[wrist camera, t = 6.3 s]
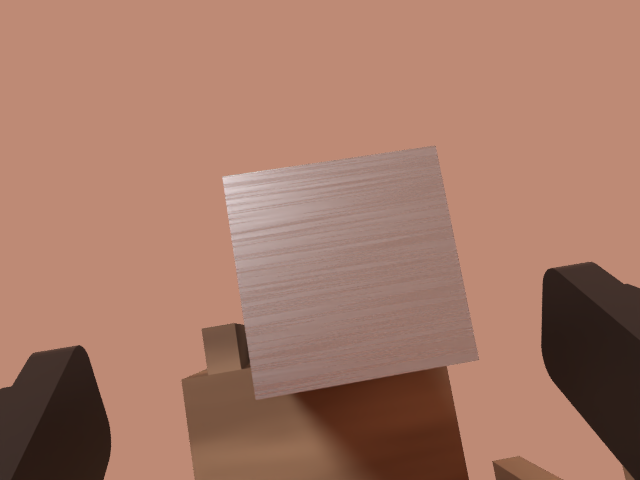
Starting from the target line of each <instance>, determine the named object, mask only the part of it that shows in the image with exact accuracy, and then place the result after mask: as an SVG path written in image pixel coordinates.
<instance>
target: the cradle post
mask: <svg viewBox="0 0 640 480" xmlns="http://www.w3.org/2000/svg"><path fill="white" fill-rule="evenodd" d="M492 462H493V466H494V471H495V476H496V480H563V479H561V478H559V477H557V476H555V475H553V474H551V473H550V472H548V471H546V470H544V469H542V468H540V467H538V466H537V465H535V464H533V463H531V462H529V461H527V460H525V459H524V458H522V457H520V456H517V457H512V458H507V459H502V460H496V461H492ZM623 470H624V474H625V478H626V480H634V478H633V477H632V476H631V475H630V474H629V472H628V471H627V470H626V469H625V467H624V466H623Z"/></svg>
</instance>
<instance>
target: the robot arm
mask: <svg viewBox="0 0 640 480" xmlns="http://www.w3.org/2000/svg"><path fill="white" fill-rule="evenodd" d="M542 295H543V296H542V341H541V343H542V344H541V348H542V356H543V360H544V364H545V366H546V369H547V371H548V374H549V376H550V377H551V379H552V381H553V382H554V383H555V384H556V386H557V387H558V388H559V389H560V390H561V392H562V393H563V394H564V395H565V396H566V398H567V399H568V400H569V401H570V402H571V404H572V405H573V406H574V407H575V408H576V410H577V411H578V412H579V413H580V414H581V415H582V417H583V418H584V419H585V420H586V422H587V423H588V424H589V425H590V426H591V428H592V429H593V430H594V431H595V432H596V434H597V435H598V436H599V437H600V439H601V440H602V441H603V442H604V443H605V445H606V446H607V447H608V448H609V449H610V451H611V452H612V453H613V454H614V455H615V457H616V458H617V459H618V460H619V461H620V463H621V464H622V465H623V466H624V467H625V469H626V470H627V471H628V472H629V474H630V475H631V476H632V477H633V478H634V480H640V288H637V287H635V286H632V285H629V284H623V283H621V282H620V281H619V280H617V279H616V278H615V277H613V276H612V275H611V274H609V273H608V272H606V271H605V270H604V269H602V268H601V267H600V266H598V265H597V264H595V263H593V262H586V263H580V264H574V265H568V266H562V267H556V268H551V269H548V270H547V271H546V272H545V274H544V278H543V292H542ZM110 451H111V434H110V427H109V422H108V418H107V415H106V411H105V408H104V405H103V402H102V398H101V395H100V392H99V389H98V386H97V382H96V379H95V376H94V373H93V369H92V366H91V363H90V360H89V357H88V354H87V352H86V351H85V349H84V348H83V347H82V346H80V345H78V346H72V347H66V348H60V349H54V350H48V351H42V352H36V353H33V354H32V355H31V356H30V357H29V359H28V360H27V362H26V364H25V365H24V367H23V369H22V370H21V372H20V374H19V375H18V377H17V379H16V380H15V382H14V384H13V385H12V387H6V388H2V389H0V480H103V479H104V476H105V472H106V469H107V465H108V462H109V457H110Z"/></svg>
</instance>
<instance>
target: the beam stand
mask: <svg viewBox="0 0 640 480" xmlns="http://www.w3.org/2000/svg"><path fill="white" fill-rule="evenodd" d="M202 334H203V341H204V349H205V356H206V363H207V369H206V370H203V371H201V372H199V373H196V374H194V375H192V376H189V377H187V378H185V379H182V387H183V394H184V402H185V409H186V417H187V425H188V432H189V439H190V447H191V454H192V462H193V470H194V476H195V480H469V478H468V473H467V468H466V463H465V458H464V452H463V447H462V442H461V437H460V432H459V427H458V422H457V417H456V411H455V406H454V401H453V396H452V391H451V386H450V381H449V376H448V371H447V366H443V367H437V368H432V369H426V370H421V371H415V372H409V373H404V374H398V375H393V376H387V377H382V378H376V379H370V380H365V381H359V382H354V383H348V384H343V385H337V386H332V387H326V388H320V389H315V390H309V391H304V392H298V393H293V394H287V395H281V396H276V397H270V398H265V399H259V400H256V399H255V392H254V385H253V379H252V372H251V365H250V358H249V352H248V345H247V338H246V332H245V325H241V324H235V323H234V324H227V325H221V326H215V327H210V328H204V329H202Z"/></svg>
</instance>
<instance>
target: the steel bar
mask: <svg viewBox="0 0 640 480" xmlns="http://www.w3.org/2000/svg"><path fill="white" fill-rule="evenodd" d="M222 178H223V184H224V191H225V198H226V204H227V211H228V217H229V224H230V231H231V238H232V245H233V251H234V258H235V265H236V271H237V278H238V285H239V291H240V298H241V305H242V312H243V318H244V325H245V332H246V338H247V345H248V352H249V358H250V365H251V372H252V379H253V385H254V392H255V399H256V400H259V399H265V398H270V397H276V396H281V395H287V394H293V393H298V392H304V391H309V390H315V389H320V388H326V387H332V386H337V385H343V384H348V383H354V382H359V381H365V380H370V379H376V378H382V377H387V376H393V375H398V374H404V373H409V372H415V371H421V370H426V369H432V368H437V367H443V366H448V365H454V364H459V363H465V362H470V361H476V360H479V357H478V352H477V348H476V343H475V338H474V333H473V328H472V323H471V319H470V313H469V308H468V304H467V298H466V293H465V288H464V284H463V279H462V274H461V269H460V264H459V259H458V254H457V249H456V245H455V239H454V235H453V230H452V225H451V220H450V215H449V210H448V205H447V200H446V195H445V190H444V185H443V181H442V176H441V171H440V166H439V161H438V156H437V151H436V146H430V147H423V148H417V149H409V150H402V151H396V152H389V153H382V154H375V155H368V156H361V157H355V158H348V159H341V160H334V161H327V162H321V163H314V164H306V165H300V166H293V167H286V168H279V169H272V170H265V171H258V172H251V173H245V174H238V175H231V176H224V177H222Z"/></svg>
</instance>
